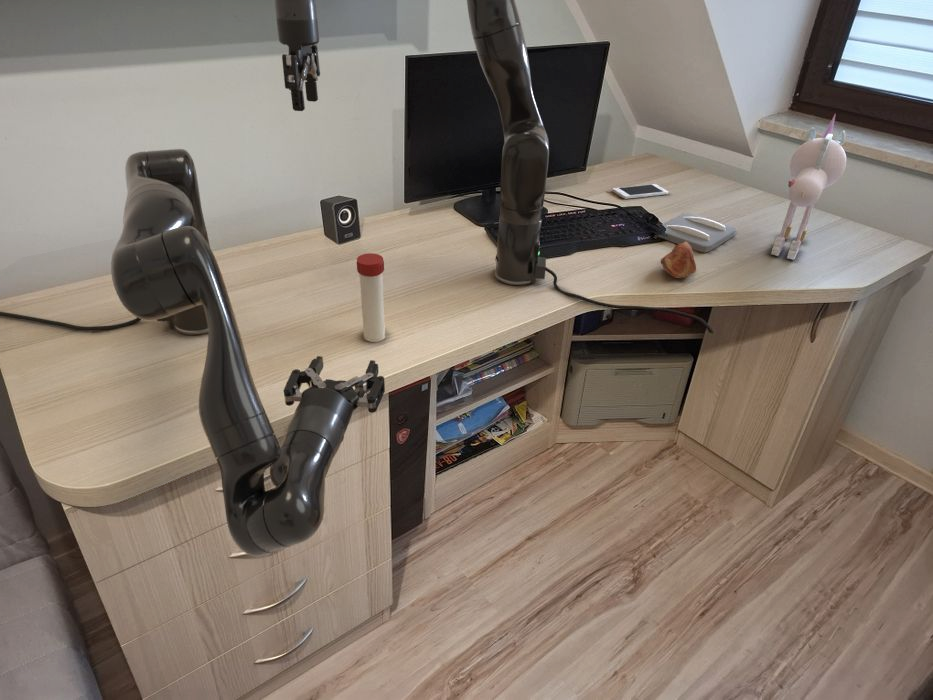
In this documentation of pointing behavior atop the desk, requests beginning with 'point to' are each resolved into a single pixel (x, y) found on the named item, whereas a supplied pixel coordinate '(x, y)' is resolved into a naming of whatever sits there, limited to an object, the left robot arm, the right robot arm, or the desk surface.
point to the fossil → (680, 261)
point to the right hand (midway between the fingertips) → (306, 105)
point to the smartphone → (640, 191)
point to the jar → (372, 307)
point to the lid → (370, 264)
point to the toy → (811, 180)
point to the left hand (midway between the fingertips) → (346, 362)
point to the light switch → (697, 232)
